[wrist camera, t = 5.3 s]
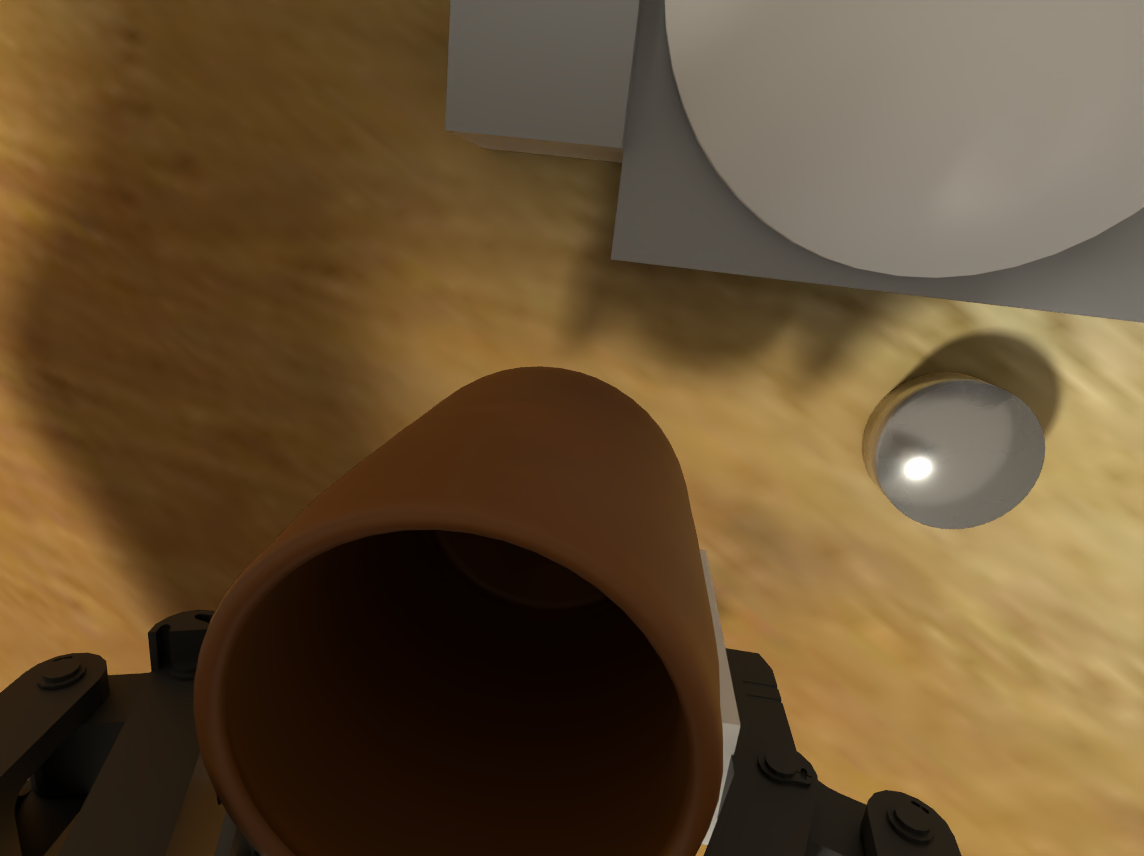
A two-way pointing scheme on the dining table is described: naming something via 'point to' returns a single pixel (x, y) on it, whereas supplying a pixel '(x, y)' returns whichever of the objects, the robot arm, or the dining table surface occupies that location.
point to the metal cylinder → (953, 450)
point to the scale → (838, 136)
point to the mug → (476, 644)
